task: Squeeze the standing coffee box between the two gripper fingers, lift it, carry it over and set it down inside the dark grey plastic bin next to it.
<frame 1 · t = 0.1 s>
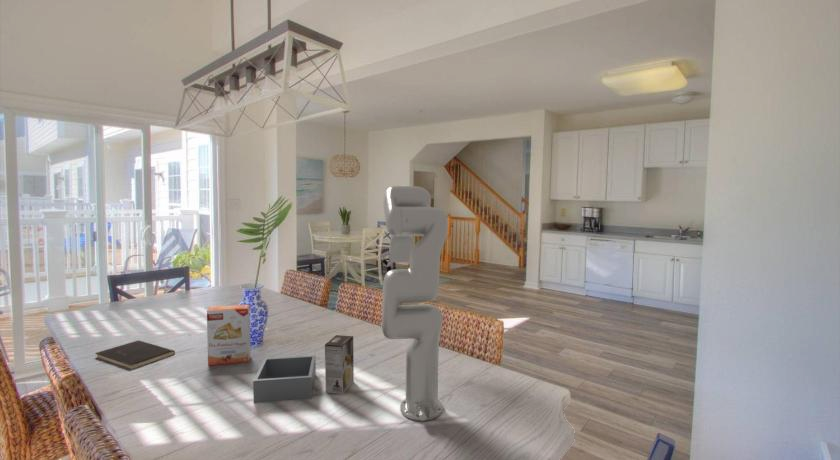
hand: (401, 275, 161), 31 cm above the table, tool pointing down, fingers open, 9 cm apart
cracker box: (230, 361, 152), on the table
hardcover book: (135, 357, 156), on the table
bin: (287, 387, 132), on the table
coffee box: (339, 387, 133), on the table
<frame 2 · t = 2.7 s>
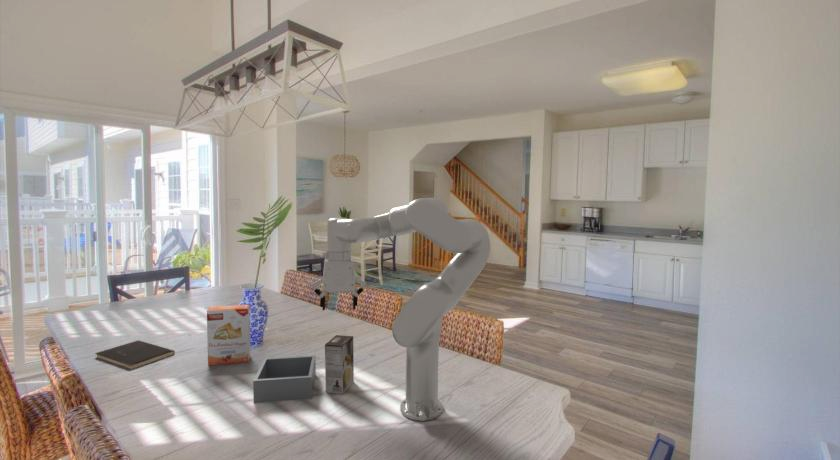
hand: (339, 308, 131), 26 cm above the table, tool pointing down, fingers open, 9 cm apart
nothing on the table moved.
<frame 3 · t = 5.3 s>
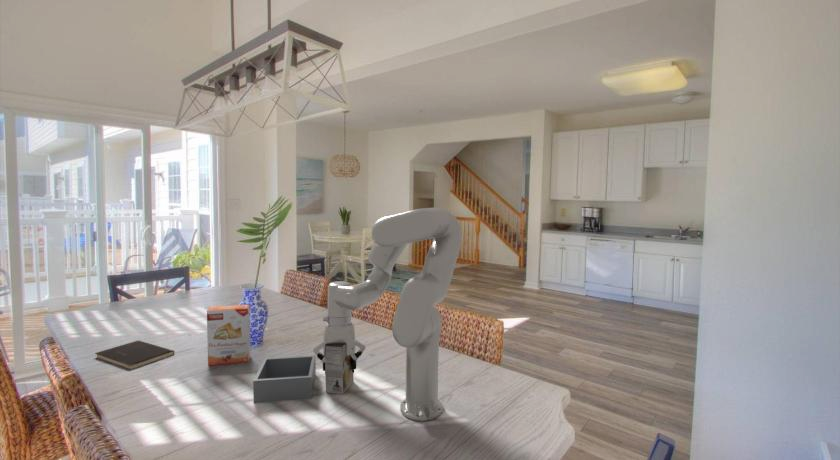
hand: (339, 371, 132), 5 cm above the table, tool pointing down, fingers closed on coffee box, 8 cm apart
coffee box: (339, 387, 133), on the table, touching gripper
everything else where it was.
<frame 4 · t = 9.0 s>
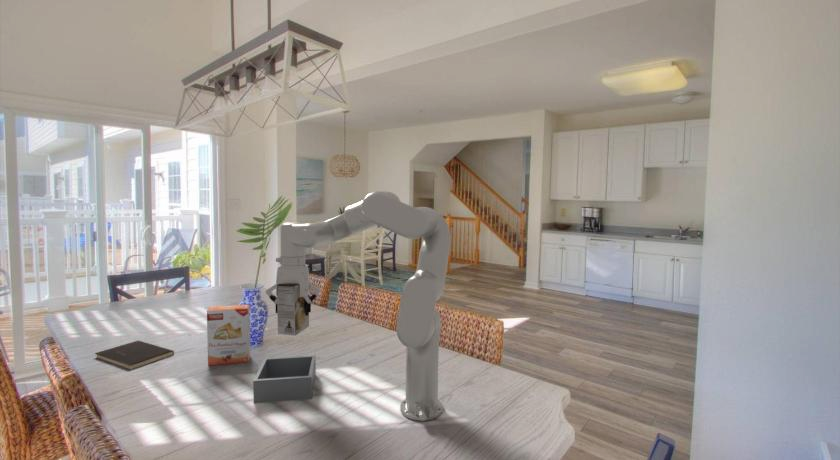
hand: (293, 314, 130), 24 cm above the table, tool pointing down, fingers closed on coffee box, 8 cm apart
coffee box: (293, 331, 130), point 19 cm above the table, touching gripper
everything else where it was.
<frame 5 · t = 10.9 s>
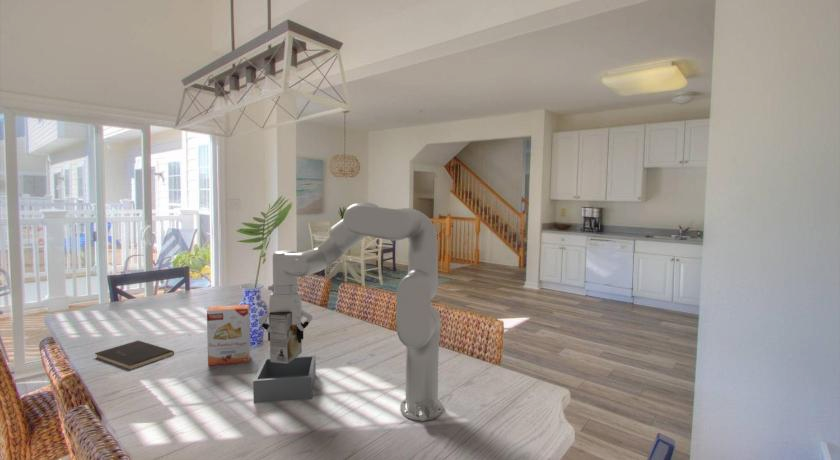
hand: (286, 341, 130), 15 cm above the table, tool pointing down, fingers closed on coffee box, 8 cm apart
coffee box: (286, 358, 131), point 10 cm above the table, touching gripper
everything else where it was.
when the fingers open (8 cm above the table, at t = 12.8 s): coffee box drops 2 cm, resting on bin.
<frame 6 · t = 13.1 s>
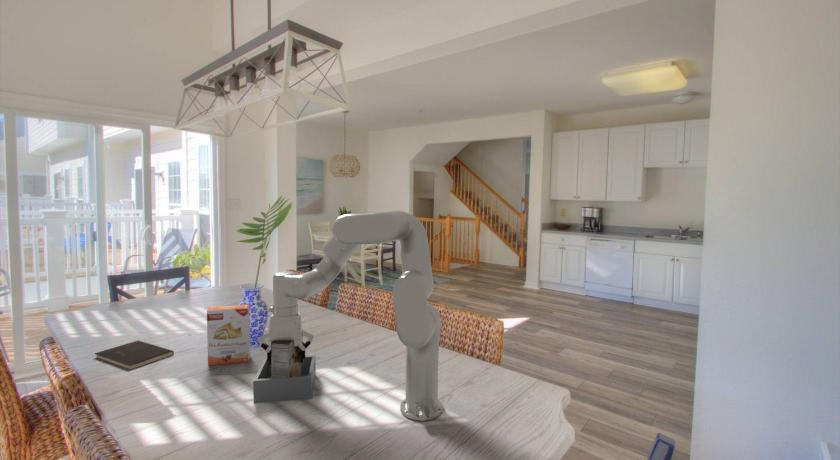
hand: (286, 361, 131), 9 cm above the table, tool pointing down, fingers open, 9 cm apart
coffee box: (286, 385, 132), point 1 cm above the table, touching bin
everything else where it was.
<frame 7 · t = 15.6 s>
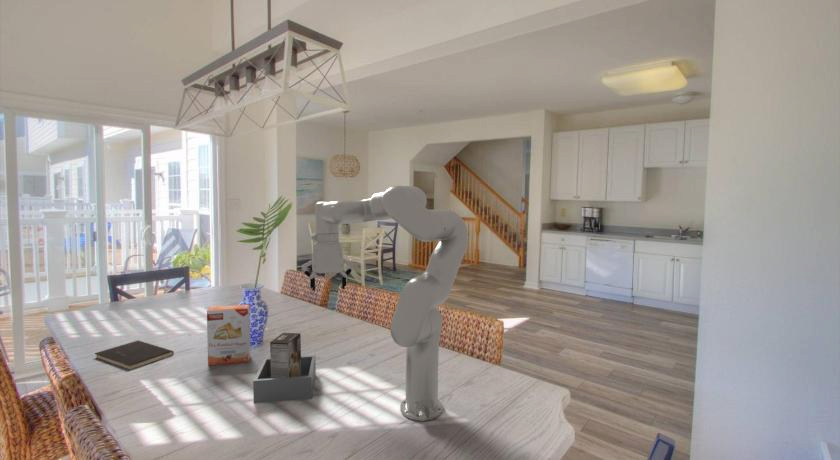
hand: (328, 289, 136), 31 cm above the table, tool pointing down, fingers open, 9 cm apart
nothing on the table moved.
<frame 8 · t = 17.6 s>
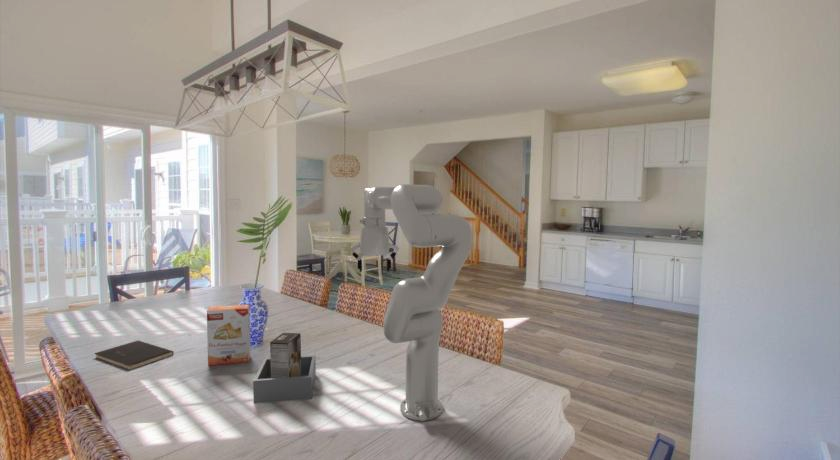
hand: (374, 270, 144), 36 cm above the table, tool pointing down, fingers open, 9 cm apart
nothing on the table moved.
at the end: coffee box inside the target area on the bin (0.1 cm from its centre), point 0.8 cm above the bin's base; the gripper is holding nothing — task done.
